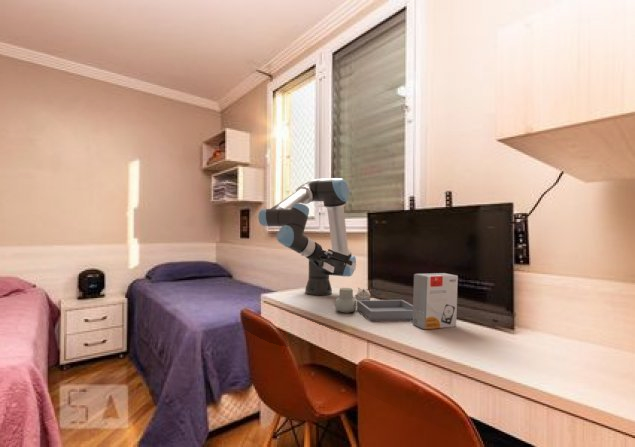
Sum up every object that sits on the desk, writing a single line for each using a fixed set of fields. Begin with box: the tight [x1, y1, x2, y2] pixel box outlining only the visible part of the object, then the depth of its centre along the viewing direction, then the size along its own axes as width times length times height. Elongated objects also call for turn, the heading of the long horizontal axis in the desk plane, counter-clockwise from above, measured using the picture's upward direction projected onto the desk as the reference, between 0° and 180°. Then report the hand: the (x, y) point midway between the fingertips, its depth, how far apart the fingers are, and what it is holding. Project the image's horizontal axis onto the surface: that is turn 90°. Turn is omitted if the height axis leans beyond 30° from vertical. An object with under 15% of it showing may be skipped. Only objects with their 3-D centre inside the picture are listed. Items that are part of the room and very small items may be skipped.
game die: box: [354, 287, 373, 301], centre depth 165 cm, size 9×8×10 cm
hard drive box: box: [411, 272, 459, 330], centre depth 132 cm, size 16×8×20 cm, turn 112°
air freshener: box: [334, 287, 357, 314], centre depth 152 cm, size 11×8×10 cm
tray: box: [356, 299, 413, 322], centre depth 148 cm, size 20×22×4 cm
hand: (343, 268), depth 153 cm, fingers open, 13 cm apart
